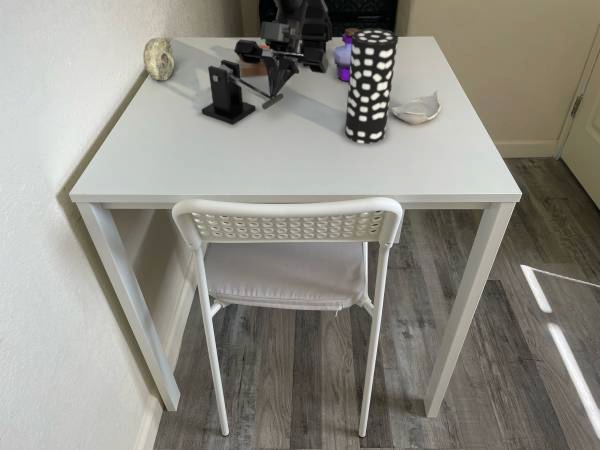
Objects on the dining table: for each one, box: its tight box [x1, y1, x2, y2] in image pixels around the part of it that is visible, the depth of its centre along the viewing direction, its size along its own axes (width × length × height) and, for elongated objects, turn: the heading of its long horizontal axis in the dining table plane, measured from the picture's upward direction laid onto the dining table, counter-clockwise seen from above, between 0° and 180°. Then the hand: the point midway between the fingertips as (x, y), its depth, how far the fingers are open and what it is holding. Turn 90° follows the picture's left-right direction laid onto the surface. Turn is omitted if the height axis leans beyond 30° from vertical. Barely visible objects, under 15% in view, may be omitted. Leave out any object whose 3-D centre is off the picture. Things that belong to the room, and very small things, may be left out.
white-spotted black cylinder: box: [344, 28, 399, 145], centre depth 90 cm, size 8×8×20 cm
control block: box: [239, 58, 279, 78], centre depth 121 cm, size 12×10×4 cm
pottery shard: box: [391, 90, 442, 125], centre depth 98 cm, size 10×11×5 cm
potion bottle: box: [332, 27, 359, 83], centre depth 113 cm, size 9×9×12 cm
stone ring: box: [143, 37, 175, 82], centre depth 114 cm, size 10×4×10 cm, turn 160°
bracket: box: [201, 59, 256, 125], centre depth 100 cm, size 9×8×11 cm
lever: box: [217, 64, 284, 110], centre depth 96 cm, size 15×6×2 cm, turn 56°
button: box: [258, 44, 269, 48], centre depth 119 cm, size 4×4×2 cm
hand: (272, 96), depth 93 cm, fingers closed
